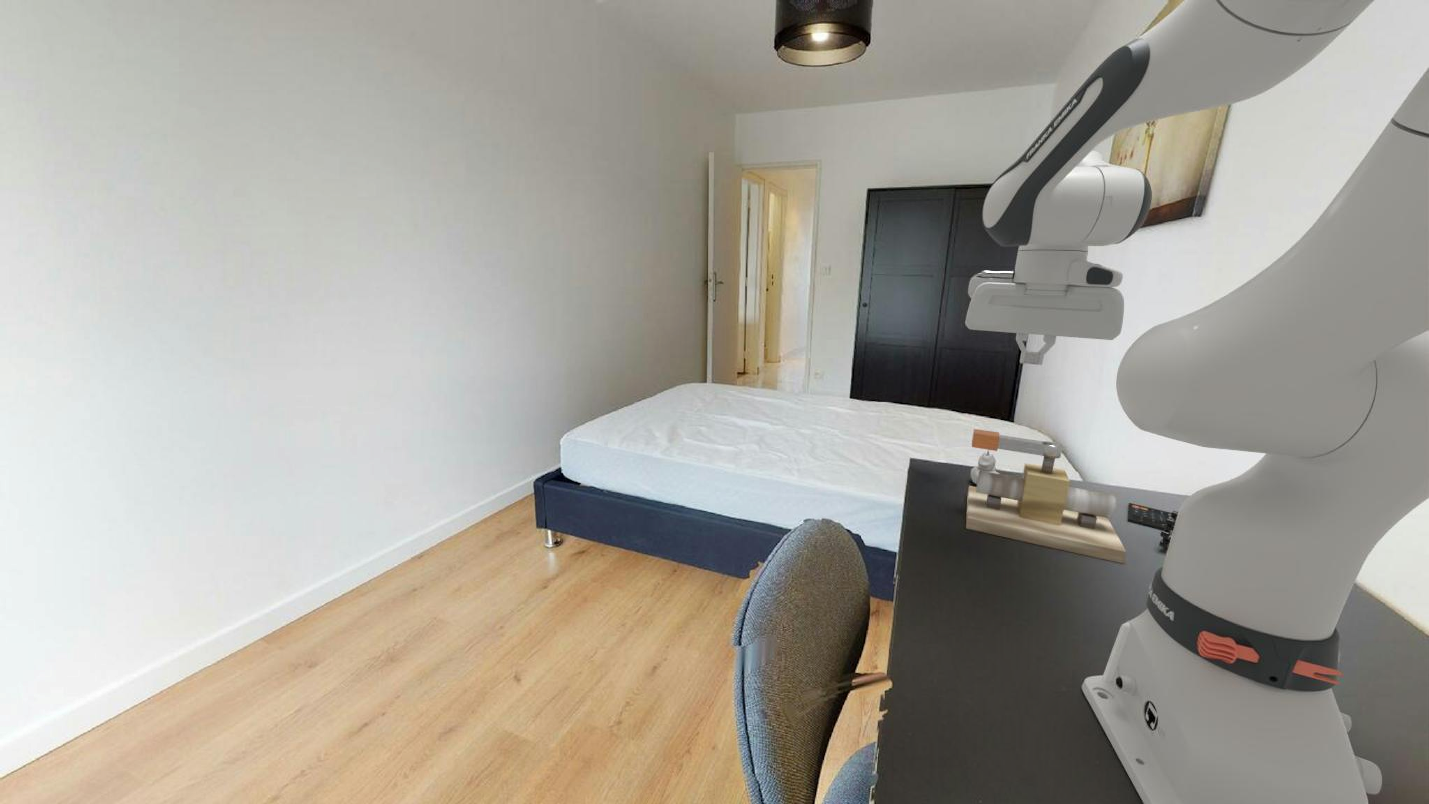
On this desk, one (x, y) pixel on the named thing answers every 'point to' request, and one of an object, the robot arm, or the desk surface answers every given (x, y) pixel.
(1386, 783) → the desk surface
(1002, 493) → the valve stand
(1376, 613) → the desk surface
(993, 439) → the valve lever
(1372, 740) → the desk surface
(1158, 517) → the calculator
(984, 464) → the white meringue swirl
